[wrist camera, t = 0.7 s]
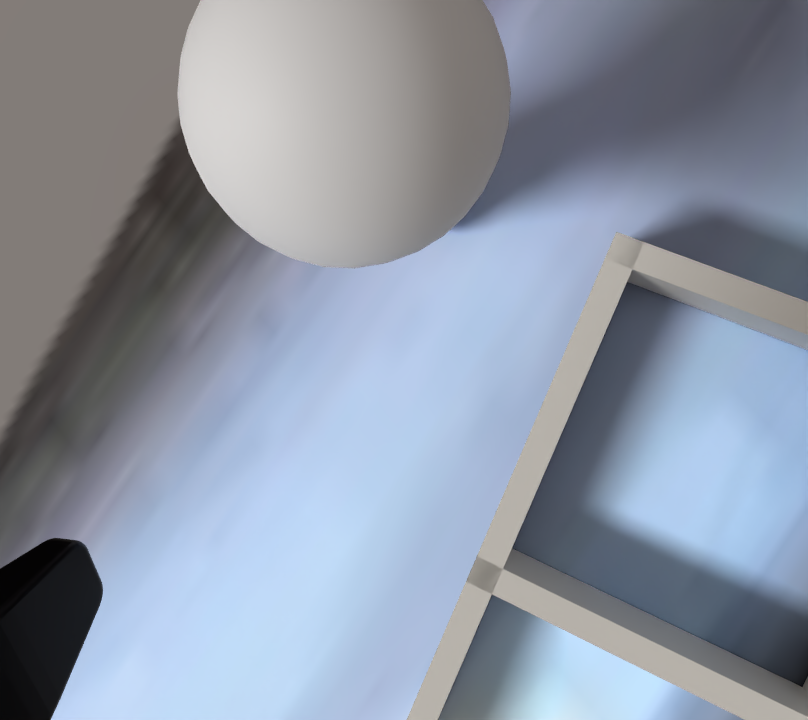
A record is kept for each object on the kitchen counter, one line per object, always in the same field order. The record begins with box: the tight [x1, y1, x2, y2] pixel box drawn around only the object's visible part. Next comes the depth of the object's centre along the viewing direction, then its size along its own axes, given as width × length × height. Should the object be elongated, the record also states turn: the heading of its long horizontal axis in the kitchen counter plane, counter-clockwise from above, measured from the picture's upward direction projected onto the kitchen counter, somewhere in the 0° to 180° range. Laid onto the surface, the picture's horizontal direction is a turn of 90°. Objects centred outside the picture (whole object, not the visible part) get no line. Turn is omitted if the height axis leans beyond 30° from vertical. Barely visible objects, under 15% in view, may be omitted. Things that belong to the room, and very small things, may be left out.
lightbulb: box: [178, 0, 511, 268], centre depth 17 cm, size 6×6×11 cm
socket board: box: [407, 232, 808, 720], centre depth 19 cm, size 18×13×2 cm
